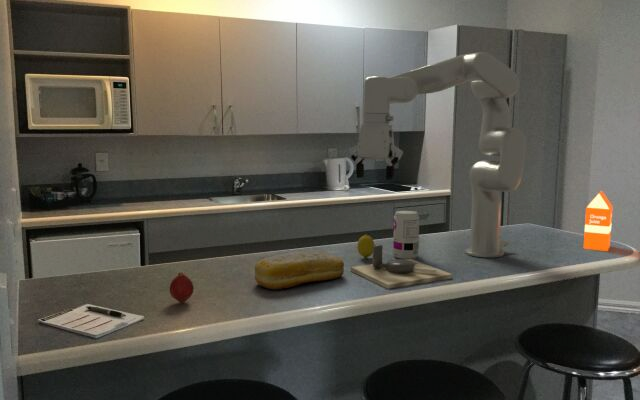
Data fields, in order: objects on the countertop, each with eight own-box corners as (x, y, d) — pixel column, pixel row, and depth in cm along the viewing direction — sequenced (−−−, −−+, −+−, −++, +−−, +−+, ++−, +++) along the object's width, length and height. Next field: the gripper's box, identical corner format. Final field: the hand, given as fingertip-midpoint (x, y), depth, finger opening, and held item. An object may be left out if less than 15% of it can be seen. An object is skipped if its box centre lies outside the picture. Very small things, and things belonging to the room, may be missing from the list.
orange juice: (610, 246, 199) (614, 190, 196) (607, 251, 191) (611, 193, 188) (586, 243, 203) (589, 189, 200) (582, 248, 196) (586, 192, 193)
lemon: (373, 261, 179) (373, 236, 178) (356, 260, 180) (356, 236, 179) (375, 256, 184) (375, 233, 183) (358, 256, 186) (358, 232, 184)
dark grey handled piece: (438, 269, 163) (439, 247, 162) (433, 276, 155) (433, 254, 154) (377, 262, 170) (377, 242, 169) (368, 269, 163) (369, 248, 162)
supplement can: (390, 258, 182) (391, 213, 180) (396, 252, 190) (397, 209, 188) (415, 260, 179) (416, 214, 177) (420, 254, 187) (421, 211, 185)
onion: (172, 299, 142) (171, 268, 140) (195, 298, 142) (194, 268, 141) (168, 307, 136) (166, 275, 135) (192, 306, 136) (191, 274, 135)
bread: (246, 284, 155) (246, 256, 154) (322, 269, 171) (322, 243, 169) (271, 296, 144) (271, 266, 143) (350, 279, 160) (350, 252, 159)
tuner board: (410, 262, 177) (410, 258, 177) (452, 278, 159) (452, 273, 159) (350, 270, 167) (350, 266, 167) (387, 288, 150) (387, 284, 149)
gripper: (408, 120, 160) (406, 179, 163) (356, 119, 170) (355, 175, 172) (397, 120, 154) (395, 181, 156) (344, 119, 163) (342, 177, 166)
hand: (374, 178), depth 164 cm, fingers open, 9 cm apart
